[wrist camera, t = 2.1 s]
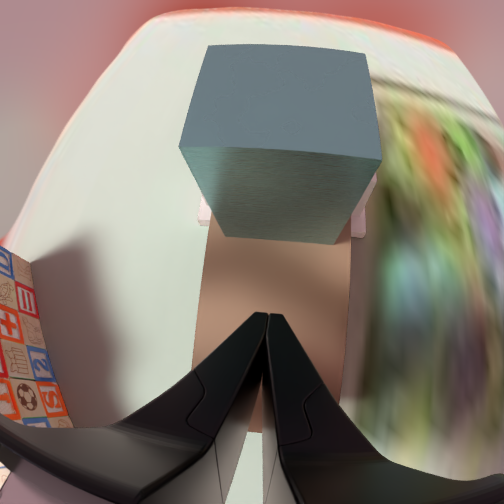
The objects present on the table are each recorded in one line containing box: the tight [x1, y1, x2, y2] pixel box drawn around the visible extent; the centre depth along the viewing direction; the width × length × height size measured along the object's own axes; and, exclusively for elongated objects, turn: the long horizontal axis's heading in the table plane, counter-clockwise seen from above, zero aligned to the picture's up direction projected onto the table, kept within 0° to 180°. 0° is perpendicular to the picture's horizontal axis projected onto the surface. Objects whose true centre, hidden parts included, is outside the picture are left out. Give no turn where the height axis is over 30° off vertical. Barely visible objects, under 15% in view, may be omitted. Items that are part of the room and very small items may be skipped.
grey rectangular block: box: [179, 44, 382, 245], centre depth 14 cm, size 5×6×9 cm
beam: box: [191, 211, 351, 433], centre depth 20 cm, size 25×9×5 cm, turn 174°
